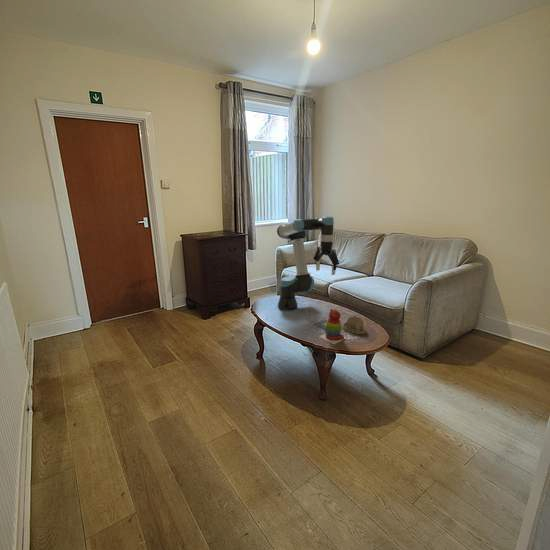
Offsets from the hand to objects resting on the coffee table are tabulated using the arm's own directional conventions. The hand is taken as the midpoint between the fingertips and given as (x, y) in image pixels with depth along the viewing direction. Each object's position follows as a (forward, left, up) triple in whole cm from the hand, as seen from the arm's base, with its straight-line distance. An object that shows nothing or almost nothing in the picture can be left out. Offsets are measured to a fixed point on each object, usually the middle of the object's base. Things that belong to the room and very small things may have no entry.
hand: (325, 272), depth 208 cm
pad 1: (+6, -5, -35) cm, 36 cm away
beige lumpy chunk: (+23, +4, -35) cm, 42 cm away
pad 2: (+21, -15, -35) cm, 43 cm away
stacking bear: (+21, -15, -34) cm, 43 cm away
